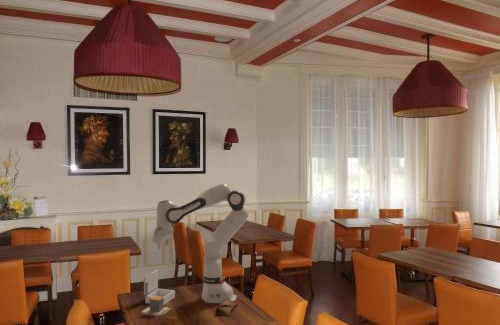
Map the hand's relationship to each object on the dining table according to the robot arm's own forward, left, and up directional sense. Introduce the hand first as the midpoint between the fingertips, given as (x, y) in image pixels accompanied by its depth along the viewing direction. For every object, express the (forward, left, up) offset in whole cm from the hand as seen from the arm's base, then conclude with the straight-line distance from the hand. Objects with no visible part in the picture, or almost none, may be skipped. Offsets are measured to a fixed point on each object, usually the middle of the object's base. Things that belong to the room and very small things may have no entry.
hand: (163, 247), depth 250 cm
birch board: (-10, +25, -31) cm, 41 cm away
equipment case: (-4, +10, -31) cm, 33 cm away
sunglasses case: (-47, +9, -31) cm, 57 cm away
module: (-10, +25, -30) cm, 40 cm away
